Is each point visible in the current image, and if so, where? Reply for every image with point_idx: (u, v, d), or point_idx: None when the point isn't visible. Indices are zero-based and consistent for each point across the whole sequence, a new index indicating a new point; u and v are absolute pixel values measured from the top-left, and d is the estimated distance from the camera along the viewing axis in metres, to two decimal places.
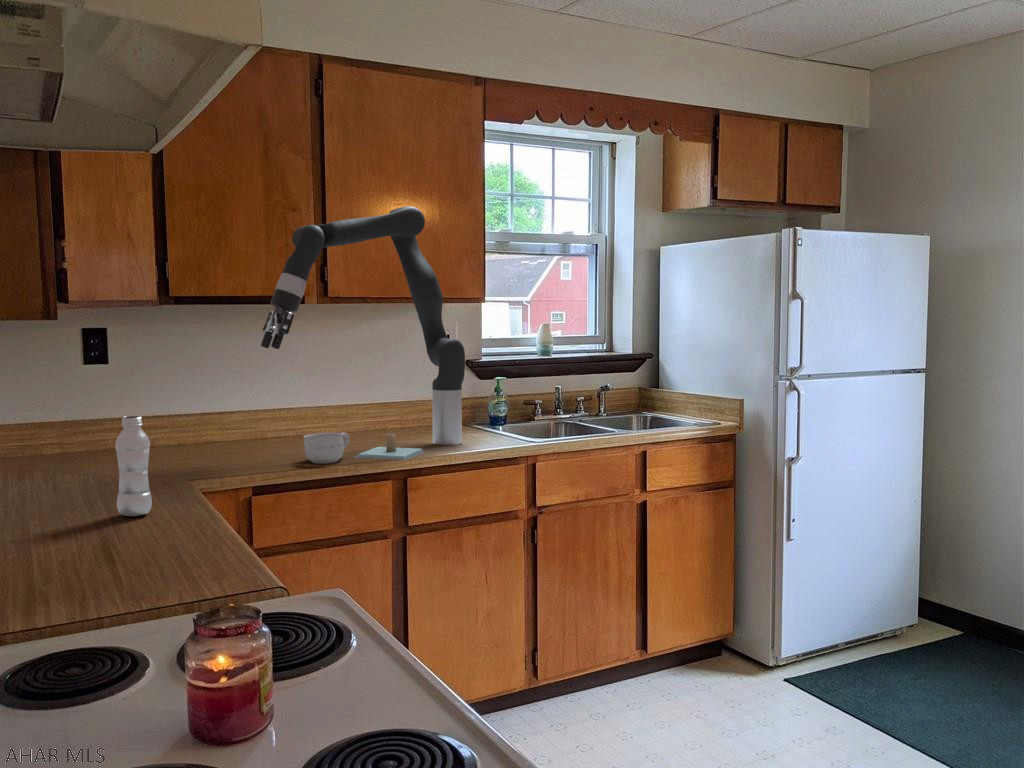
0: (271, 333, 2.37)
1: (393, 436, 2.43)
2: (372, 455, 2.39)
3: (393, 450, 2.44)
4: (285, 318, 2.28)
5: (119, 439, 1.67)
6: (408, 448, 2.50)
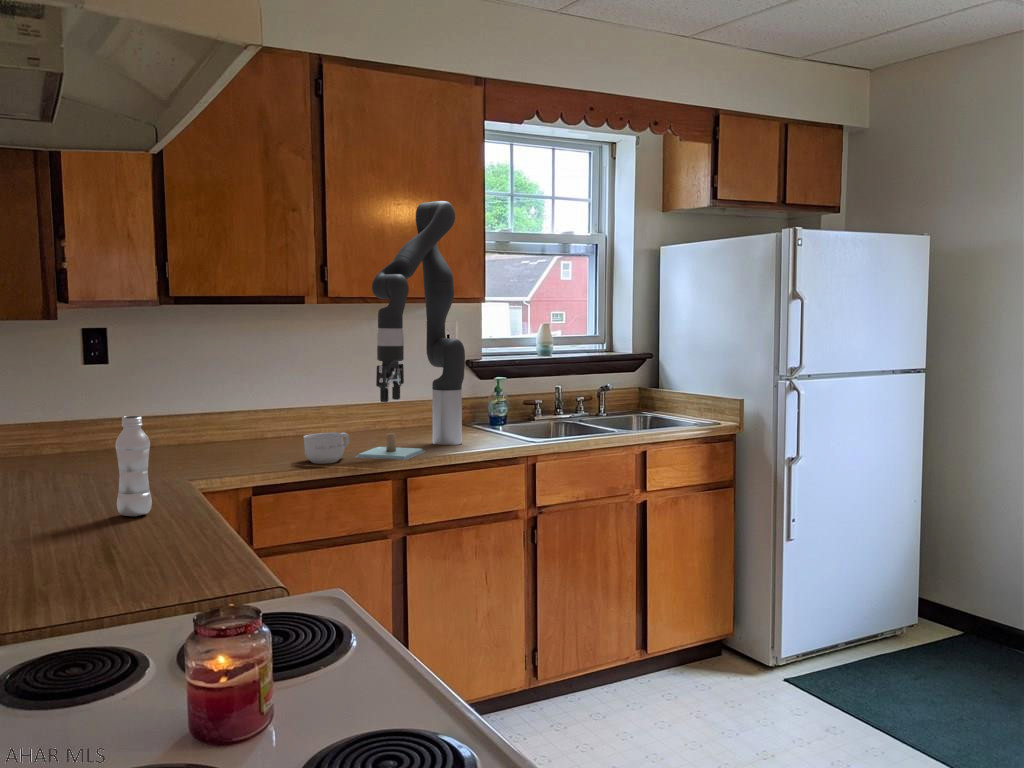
0: (397, 384, 2.47)
1: (393, 436, 2.43)
2: (372, 455, 2.39)
3: (393, 450, 2.44)
4: (377, 373, 2.37)
5: (119, 439, 1.67)
6: (408, 448, 2.50)
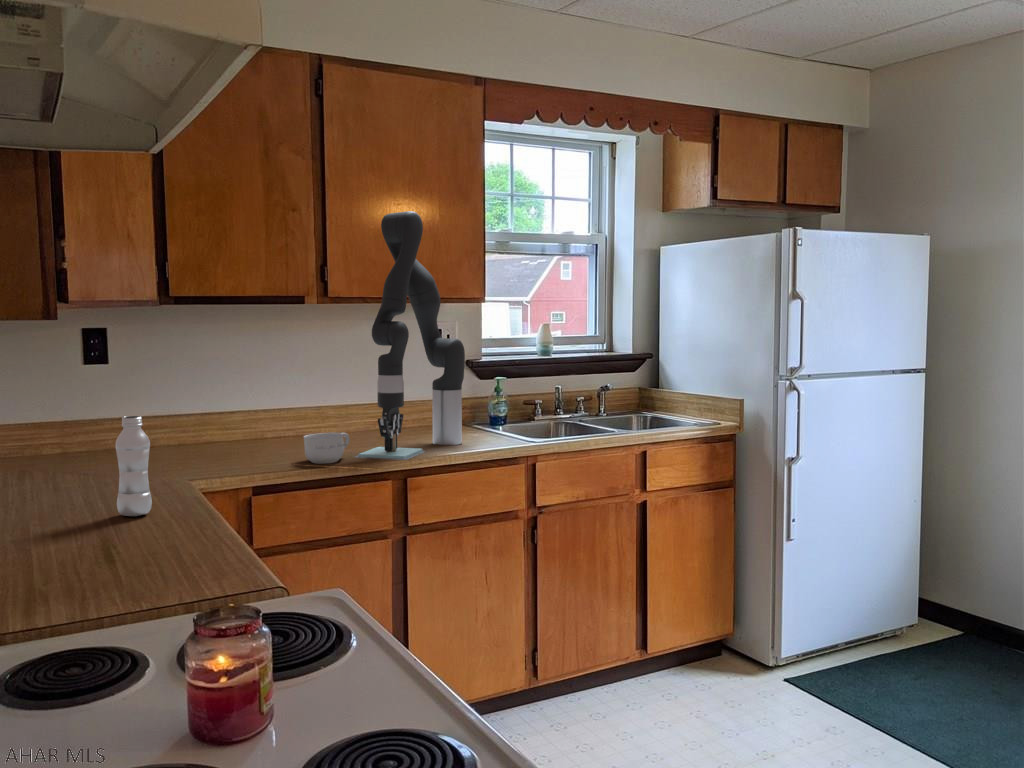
0: None
1: (393, 436, 2.43)
2: (372, 455, 2.39)
3: (393, 450, 2.44)
4: (380, 426, 2.39)
5: (119, 439, 1.67)
6: (408, 448, 2.50)
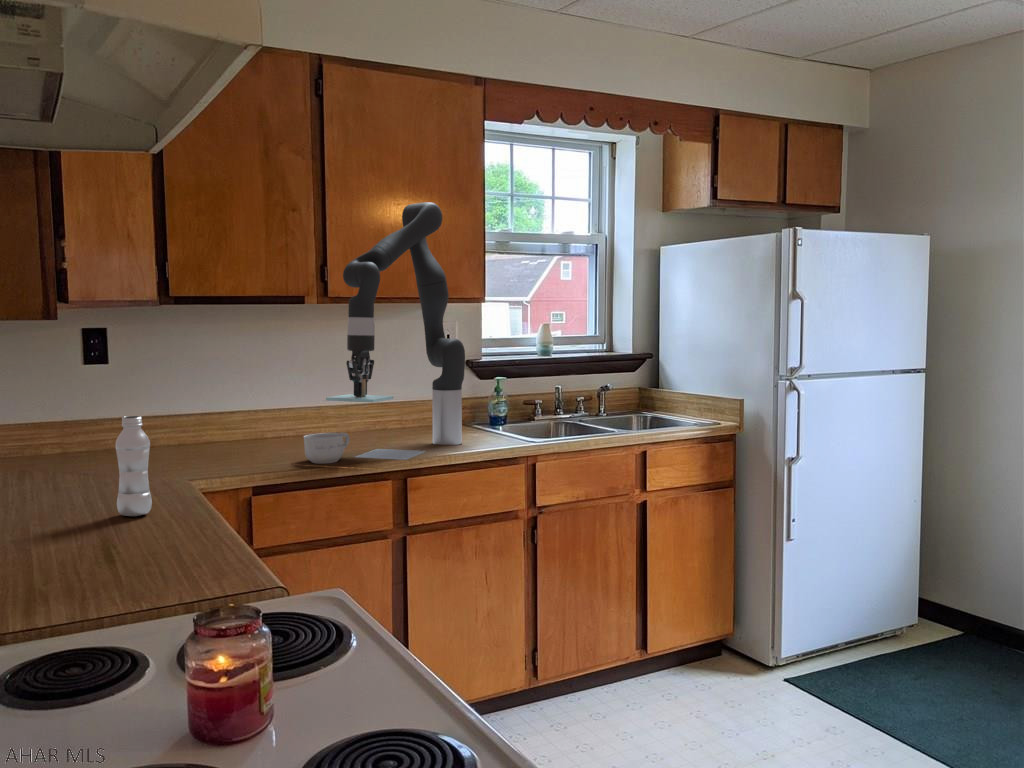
0: None
1: (363, 381, 2.36)
2: (340, 399, 2.32)
3: (362, 395, 2.37)
4: (348, 368, 2.32)
5: (119, 439, 1.67)
6: (378, 395, 2.43)
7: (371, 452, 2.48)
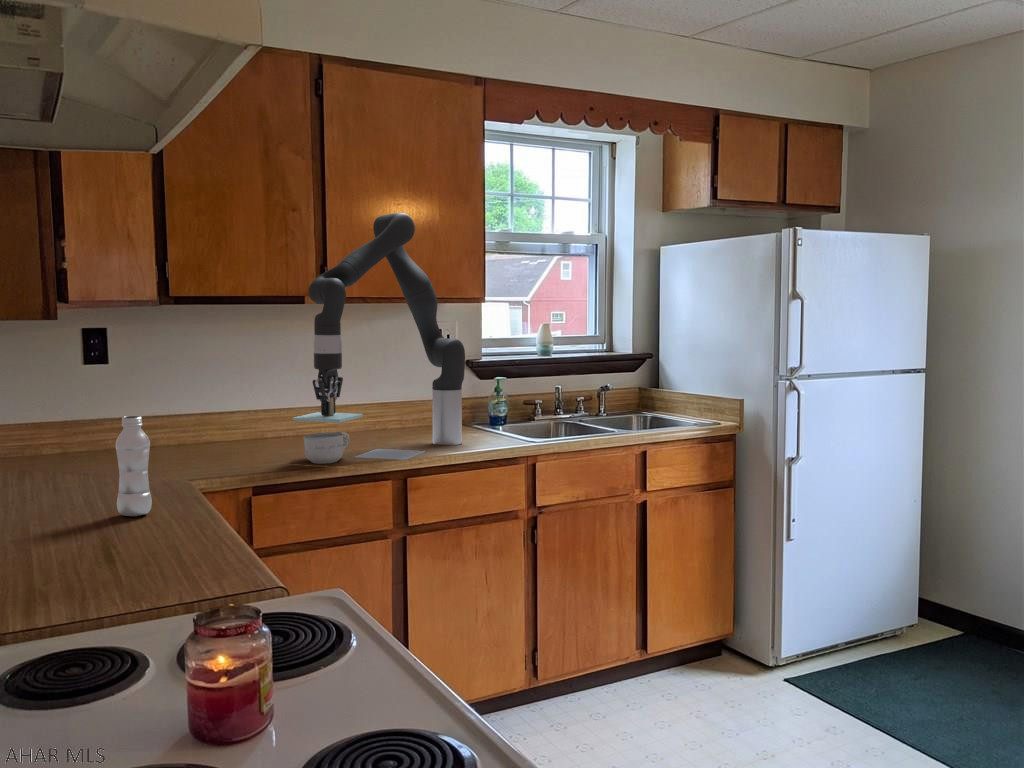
0: None
1: (330, 399, 2.31)
2: (307, 419, 2.27)
3: (330, 414, 2.32)
4: (315, 388, 2.27)
5: (119, 439, 1.67)
6: (348, 413, 2.38)
7: (371, 452, 2.48)
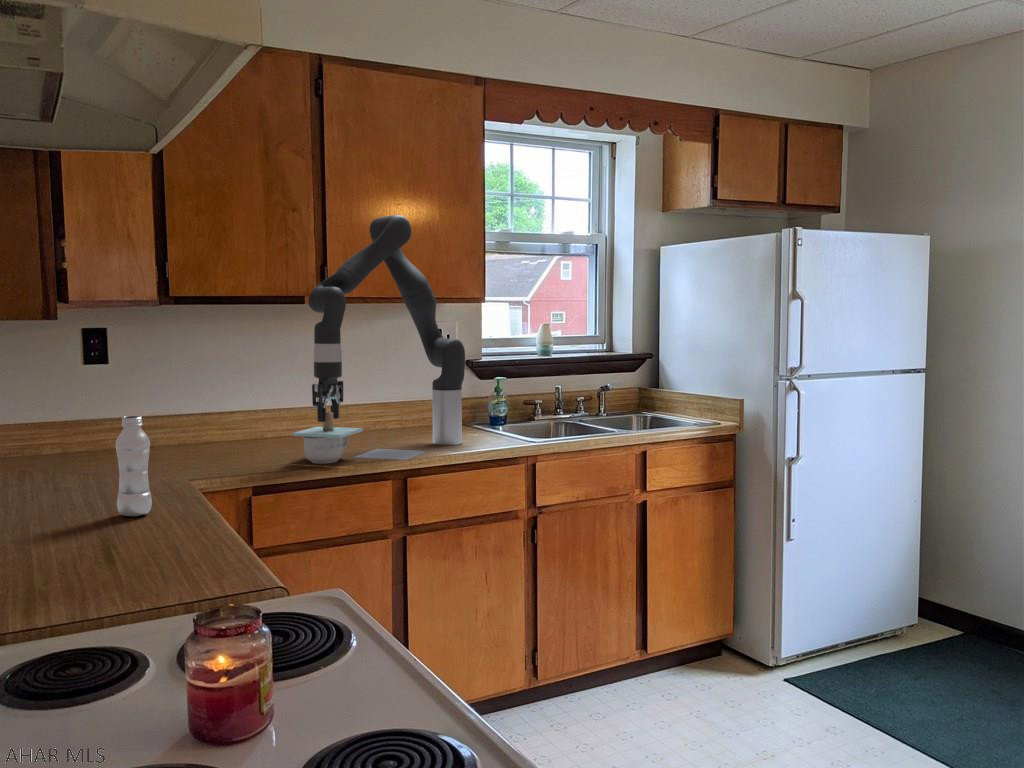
0: (336, 403, 2.36)
1: (330, 414, 2.31)
2: (307, 434, 2.27)
3: (330, 429, 2.32)
4: (313, 392, 2.26)
5: (119, 439, 1.67)
6: (347, 428, 2.38)
7: (371, 452, 2.48)
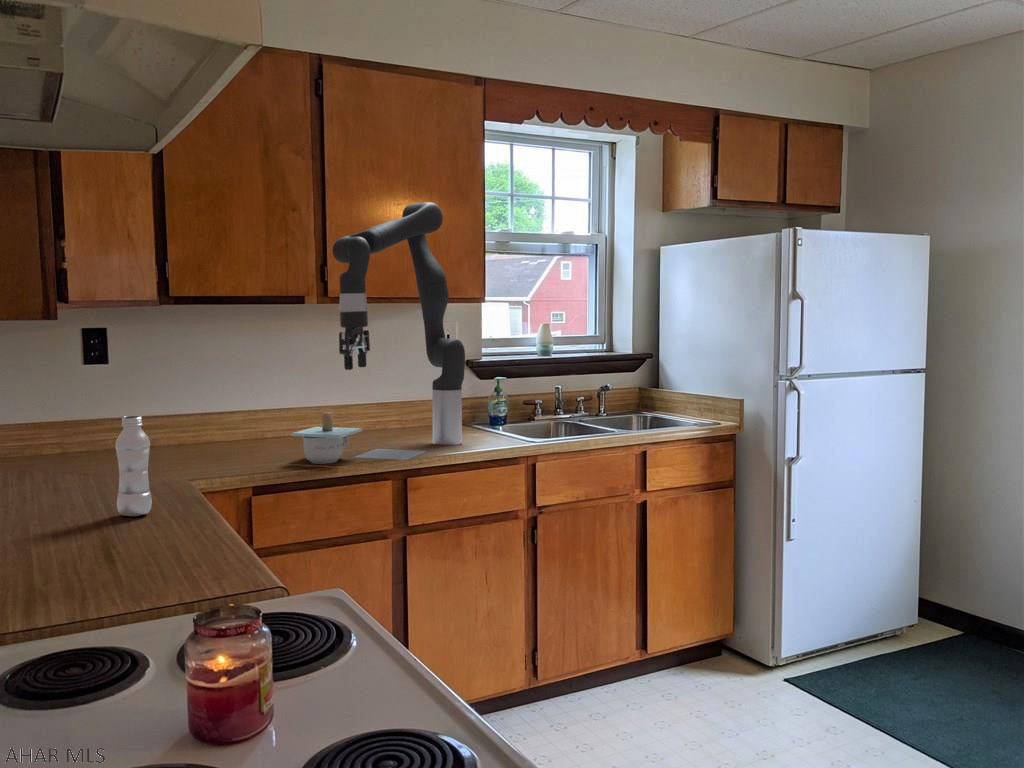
0: (363, 351, 2.39)
1: (329, 415, 2.31)
2: (306, 434, 2.27)
3: (329, 429, 2.32)
4: (340, 339, 2.29)
5: (119, 439, 1.67)
6: (346, 428, 2.38)
7: (371, 452, 2.48)
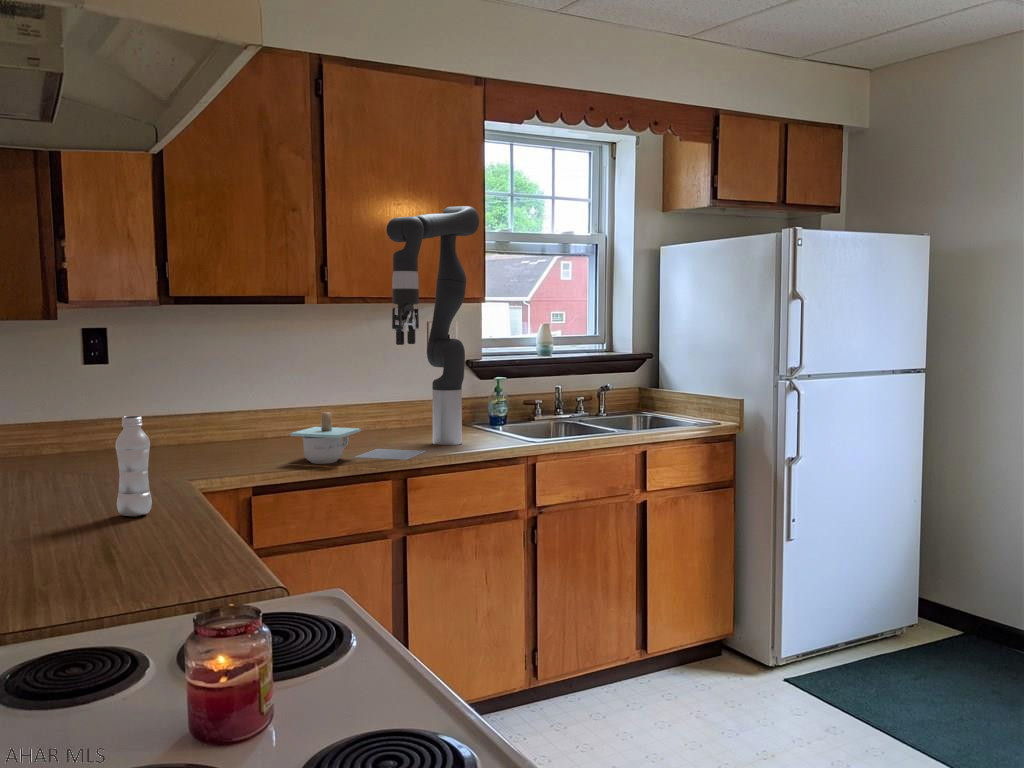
0: (412, 329, 2.47)
1: (328, 415, 2.31)
2: (305, 434, 2.27)
3: (328, 429, 2.32)
4: (393, 315, 2.36)
5: (119, 439, 1.67)
6: (346, 428, 2.38)
7: (371, 452, 2.48)
